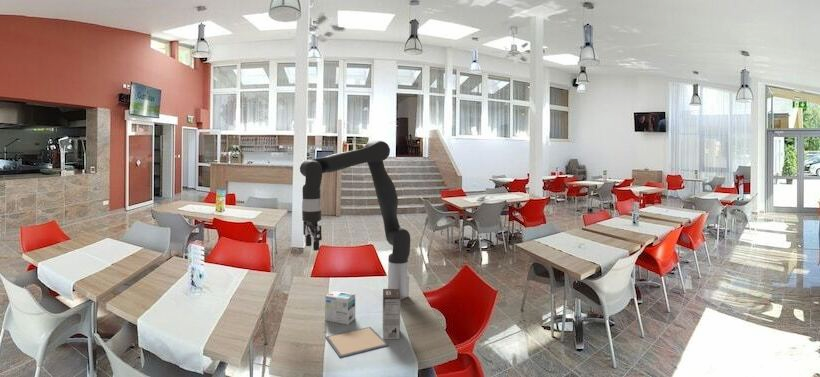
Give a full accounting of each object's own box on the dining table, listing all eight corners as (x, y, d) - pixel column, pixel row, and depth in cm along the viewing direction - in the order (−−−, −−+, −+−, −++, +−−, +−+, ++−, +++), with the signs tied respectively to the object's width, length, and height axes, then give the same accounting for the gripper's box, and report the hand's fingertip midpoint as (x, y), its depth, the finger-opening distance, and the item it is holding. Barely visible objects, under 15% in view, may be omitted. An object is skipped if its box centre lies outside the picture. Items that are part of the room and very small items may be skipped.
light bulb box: (355, 318, 162) (356, 293, 161) (348, 325, 155) (348, 299, 154) (333, 314, 165) (333, 289, 164) (324, 321, 159) (324, 295, 158)
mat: (370, 327, 153) (370, 326, 153) (388, 345, 140) (388, 344, 140) (325, 337, 145) (325, 336, 145) (339, 357, 131) (339, 356, 131)
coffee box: (382, 328, 153) (382, 288, 152) (398, 328, 154) (399, 288, 152) (382, 339, 144) (383, 297, 143) (400, 339, 145) (400, 296, 143)
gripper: (327, 210, 156) (327, 250, 158) (314, 206, 168) (314, 243, 170) (309, 212, 152) (309, 253, 154) (296, 207, 164) (297, 245, 165)
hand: (312, 248), depth 162 cm, fingers open, 8 cm apart
